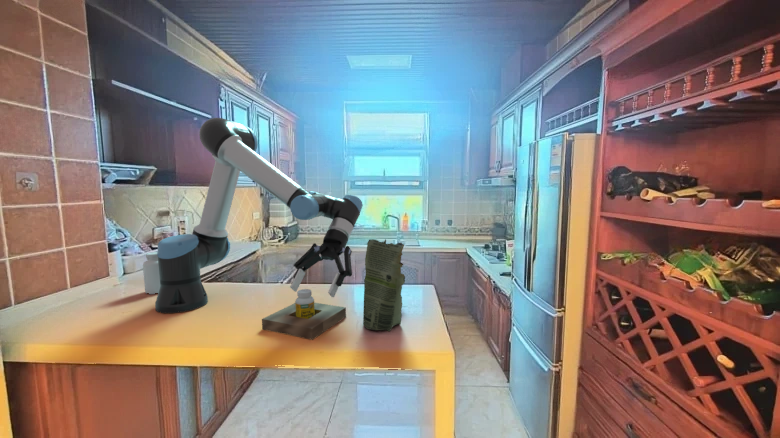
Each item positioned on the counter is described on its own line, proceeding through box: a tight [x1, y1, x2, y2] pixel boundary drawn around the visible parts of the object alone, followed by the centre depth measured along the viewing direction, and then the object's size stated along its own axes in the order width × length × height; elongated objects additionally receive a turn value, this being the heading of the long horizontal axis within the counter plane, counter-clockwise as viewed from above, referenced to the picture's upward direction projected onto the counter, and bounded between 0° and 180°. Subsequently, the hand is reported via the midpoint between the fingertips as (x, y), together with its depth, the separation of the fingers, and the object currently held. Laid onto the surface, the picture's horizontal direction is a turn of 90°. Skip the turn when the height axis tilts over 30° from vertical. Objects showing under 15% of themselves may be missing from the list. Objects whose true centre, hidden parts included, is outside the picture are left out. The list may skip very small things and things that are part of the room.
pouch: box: [362, 238, 406, 332], centre depth 98 cm, size 11×12×25 cm
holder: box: [261, 302, 347, 341], centre depth 101 cm, size 17×17×3 cm
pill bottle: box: [142, 251, 160, 295], centre depth 132 cm, size 8×8×15 cm
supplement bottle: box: [294, 288, 315, 319], centre depth 101 cm, size 5×5×10 cm
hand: (311, 292), depth 102 cm, fingers open, 13 cm apart
